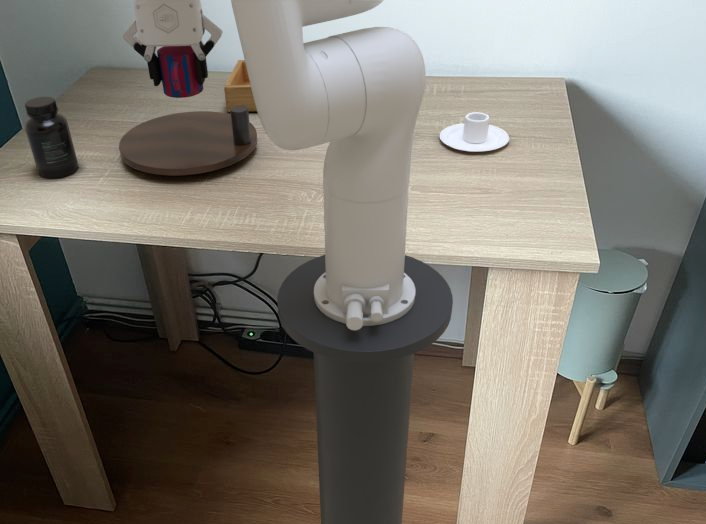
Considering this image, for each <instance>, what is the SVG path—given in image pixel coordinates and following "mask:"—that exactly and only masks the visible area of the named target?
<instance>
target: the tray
mask: <svg viewBox="0 0 706 524" xmlns="http://www.w3.org/2000/svg"><path fill="white" fill-rule="evenodd" d="M223 90H224V99H225V105H226V106H225V107H226V111H227V113H230V109H231V108H232V107H234V106H240V105H241V106H246V107H248V112H257V109H256V105H255V101H254V97H253V93H252V89H251V85H250V80H249V76H248V72H247V67H246V63H245V59H238V60H237V62H236V63H235V65H234V68H233V70H232V71H231V72H230V75H229V77H228V79H227V81H226V82H225V85H224V86H223Z"/></svg>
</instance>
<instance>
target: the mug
mask: <svg viewBox="0 0 706 524" xmlns="http://www.w3.org/2000/svg"><path fill="white" fill-rule="evenodd" d="M156 56H157V57H158V61H159V67H160V73H161V79H162V81H161V84H162V91H163V94H164V95H165V96H167V97H169V98H174V99H184V98H185V99H186V98H190V97H194V96H197V95H199V94H201V93H202V92H203V91H204V84H203V85H199V84H198V80H197V72H196V65H195V61H196V59H197V57H196V54H195V52H194V51H193V49H192V47H191V46H160V48H159V47H158V49H156Z"/></svg>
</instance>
